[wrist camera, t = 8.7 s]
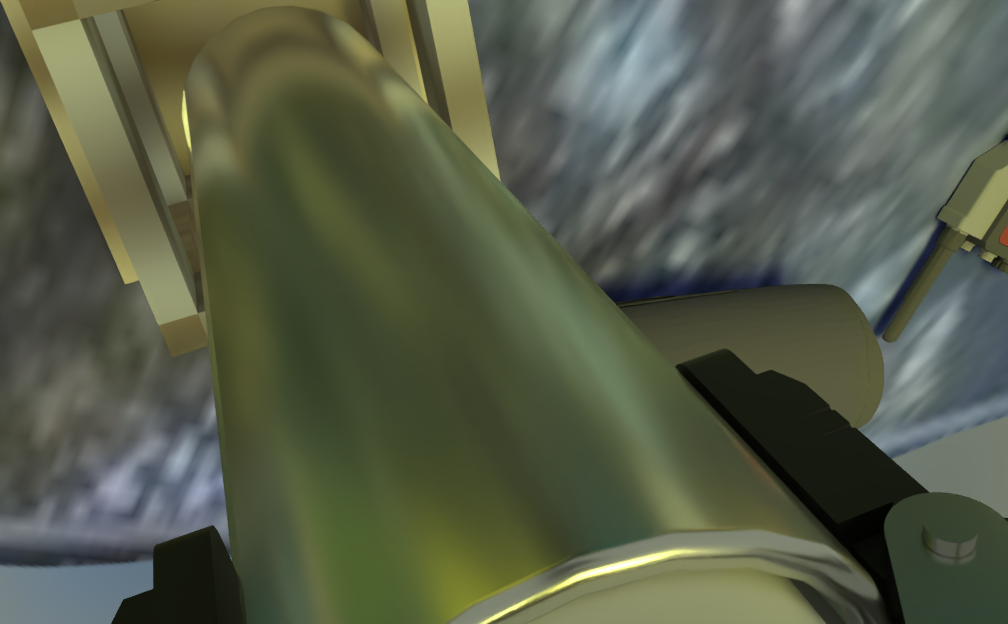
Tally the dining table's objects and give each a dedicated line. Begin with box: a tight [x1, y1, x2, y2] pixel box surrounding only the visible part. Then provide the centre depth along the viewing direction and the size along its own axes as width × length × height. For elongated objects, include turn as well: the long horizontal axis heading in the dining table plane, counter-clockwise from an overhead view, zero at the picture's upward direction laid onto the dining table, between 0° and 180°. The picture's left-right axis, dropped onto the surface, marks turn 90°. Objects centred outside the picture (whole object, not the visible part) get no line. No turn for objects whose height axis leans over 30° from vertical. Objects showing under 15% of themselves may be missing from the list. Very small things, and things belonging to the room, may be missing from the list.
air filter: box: [181, 5, 896, 624], centre depth 18 cm, size 6×6×25 cm
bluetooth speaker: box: [615, 284, 884, 429], centre depth 48 cm, size 23×9×10 cm, turn 90°
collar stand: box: [0, 0, 501, 357], centre depth 33 cm, size 17×17×14 cm
